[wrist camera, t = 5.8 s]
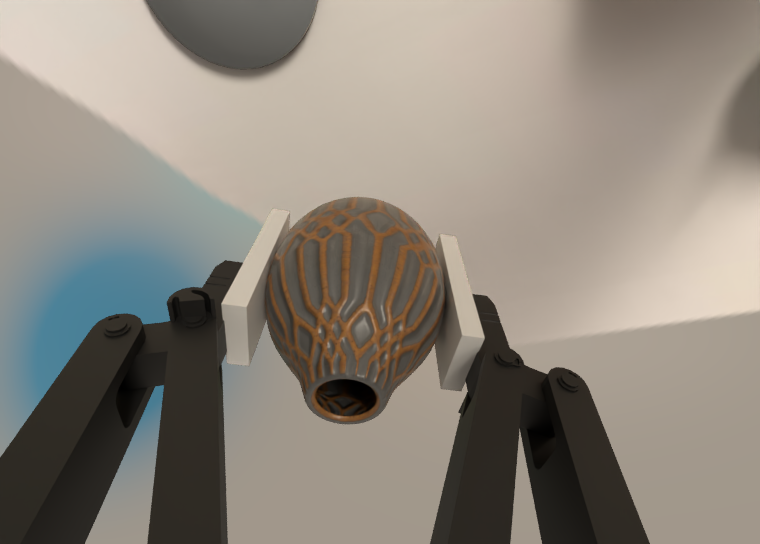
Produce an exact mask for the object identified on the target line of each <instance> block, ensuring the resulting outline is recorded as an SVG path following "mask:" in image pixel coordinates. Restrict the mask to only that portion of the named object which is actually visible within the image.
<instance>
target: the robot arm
mask: <svg viewBox="0 0 760 544" xmlns="http://www.w3.org/2000/svg"><path fill="white" fill-rule="evenodd" d="M289 219H290V211H286V210H279V209H272V211H271V212H270V214H269V216H268V218H267V220H266V222H265V224H264V225H263V227H262V229H261V231H260V233H259V235H258V237H257V239H256V240H255V242H254V244H253V246H252V248H251V250H250V251H249V253H248V255H247V257H246V259H245V261H244V263H240V262H233V261H226V260H225V261H224V262H223V263H221V264H219V265H218V266H216V267H215V269H214V270H213V272H212V273H211V275H210V277H209V278H208V279H207V281H206V283H205V284H204V286H203V287H202V288H198V287H191V288H185V289H181V290H179V291H177V292H175V293H174V294H173V295H171V296H170V297H169V299H168V301H167V306H168V311H169V316H170V321H168V322H163V323H154V324H144V325H143V324H142V322H141V319H140V318H138V317H137V316H135V315H131V314H116V315H113V316H109V317H106V318H105V319H102V320H101V321H99V322H98V323H97V324H96V325H95V326H94V327H93V328H92V329H91V330H90V332H89V333H88V335H87V336H86V338H85V339H84V340H83V342H82V343H81V345H80V346H79V347H78V349H77V350H76V352H75V353H74V354H73V356H72V357H71V359H70V360H69V362H68V363H67V364H66V366H65V367H64V369H63V370H62V371H61V373H60V374H59V375H58V377H57V378H56V380H55V381H54V383H53V384H52V385H51V387H50V388H49V390H48V391H47V392H46V394H45V395H44V397H43V398H42V399H41V401H40V402H39V404H38V405H37V407H36V408H35V409H34V411H33V412H32V414H31V415H30V416H29V418H28V419H27V421H26V422H25V423H24V425H23V426H22V428H21V429H20V431H19V432H18V434H17V435H16V437H15V438H14V439H13V441H12V442H11V443H10V445H9V446H8V447H7V449H6V450H5V452H4V453H3V455H2V456H1V457H0V544H85V541H86V539H87V537H88V535H89V533H90V530H91V528H92V526H93V524H94V522H95V519H96V517H97V515H98V513H99V510H100V508H101V506H102V504H103V501H104V499H105V497H106V495H107V493H108V490H109V488H110V486H111V484H112V481H113V479H114V477H115V475H116V473H117V470H118V468H119V466H120V463H121V461H122V459H123V457H124V455H125V452H126V450H127V448H128V446H129V444H130V441H131V439H132V437H133V435H134V432H135V430H136V428H137V425H138V423H139V421H140V419H141V417H142V414H143V412H144V410H145V408H146V406H147V403H148V401H149V399H150V397H151V394H152V392H153V390H154V388H155V386H160V385H164V392H163V401H162V411H161V420H160V430H159V439H158V448H157V458H156V467H155V477H154V486H153V496H152V505H151V515H150V524H149V534H148V544H228V538H227V508H226V476H225V445H224V413H223V386H222V385H223V382H222V365H221V363H222V361H223V359H224V356H225V355H226V358H227V364H235V365H244V366H249V365H250V363H251V360H252V357H253V354H254V352H255V349H256V346H257V344H258V341H259V338H260V336H261V333H262V330H263V327H264V325H265V322H266V320H267V318H266V309H265V291H266V282H267V277H268V272H269V269H270V266H271V263H272V260H273V258H274V256H275V254H276V251H277V249H278V248H279V246H280V244H281V242H282V241H283V239H284V238H285V236H286V235H287V233H288V232H289ZM435 250H436V252H437V255H438V258H439V260H440V264H441V267H442V271H443V276H444V283H445V308H444V314H443V319H442V323H441V327H440V330H439V333H438V336H437V339H436V341H435V349H436V357H437V363H438V370H439V378H440V386H441V389H446V390H447V389H448V390H455V391H461V390H462V388H463V386H464V384H465V382H466V384H467V389H468V392H467V395H466V397H465V399H464V401H463V403H462V406H461V408H460V410H459V413H461V416H460V420H459V424H458V428H457V432H456V436H455V441H454V445H453V449H452V453H451V458H450V462H449V466H448V471H447V474H446V479H445V483H444V487H443V491H442V496H441V500H440V504H439V509H438V513H437V517H436V521H435V525H434V530H433V534H432V539H431V542H430V544H510V539H511V527H512V515H513V502H514V489H515V477H516V464H517V451H518V440H519V428H520V432H521V437H522V442H523V447H524V453H525V457H526V463H527V468H528V473H529V478H530V483H531V488H532V494H533V498H534V504H535V509H536V514H537V519H538V524H539V530H540V535H541V540H542V544H650V543H649V540H648V538H647V535H646V533H645V530H644V528H643V525H642V523H641V520H640V518H639V515H638V512H637V510H636V508H635V505H634V502H633V500H632V497H631V495H630V492H629V490H628V487H627V485H626V482H625V480H624V477H623V475H622V472H621V469H620V467H619V464H618V462H617V460H616V457H615V454H614V452H613V449H612V447H611V444H610V442H609V439H608V437H607V434H606V432H605V429H604V427H603V424H602V421H601V419H600V416H599V414H598V411H597V409H596V406H595V404H594V401H593V399H592V396H591V394H590V391H589V388H588V386H587V385H586V383H585V381H584V380H583V379H582V378H580V376H578V375H577V374H576V373H574V372H572V371H571V370H568V369H565V368H559V367H558V368H557V367H556V368H553V369H551V370H550V371H549V373H548V374H545V373H542V372H539V371H537V370H535V369H532V368H530V367H528V366H525V365H524V362H523V360H522V358H521V357H520V355H519V354H517V353H516V352H515V351H513V350H512V349H510V347H509V345H508V342H507V339H506V336H505V333H504V330H503V327H502V325H501V323H500V319H499V316H498V313H497V310H496V307H495V305H494V304H493V302H492V301H491V300H490V299H489V298H488V297H487V296H482V295H475V294H472V292H471V288H470V285H469V281H468V278H467V274H466V271H465V267H464V264H463V260H462V257H461V253H460V250H459V246H458V243H457V239H456V236H450V235H444V234H439V238H438V241H437V245H436V248H435Z"/></svg>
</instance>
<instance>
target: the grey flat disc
mask: <svg viewBox="0 0 760 544" xmlns="http://www.w3.org/2000/svg"><path fill="white" fill-rule="evenodd" d="M147 2H148V4H149V6H150V7H151V9H152V10H153V12H154V13H155V15H156V16H157V18H158V19H159V20H160V21H161V23H162V24H163V25H164V27H165V28H166V29H167V30H168V31H169V32H170V33H171V34H172V35H173V36H174V37H175V38H176V39H177V40H178V41H179V42H180V43H181V44H183V45H184V46H185V47H186V48H187V49H189V50H190V51H192V52H193V53H195V54H196V55H198V56H200V57H202V58H203V59H205V60H207V61H209V62H212V63H215V64H217V65H220V66H224V67H228V68H234V69H254V68H259V67H263V66H266V65H269V64H272V63H274V62H275V61H277V60H279V59H281V58H283V57H284V56H285V55H287V54H288V53H289V52H291V51H292V50H293V49H294V48H295V47H296V46H297V45H298V43H299V42H300V41H301V40H302V38H303V37H304V35H305V34H306V32H307V30H308V28H309V26H310V24H311V22H312V20H313V17H314V14H315V11H316V7H317V3H318V0H147Z"/></svg>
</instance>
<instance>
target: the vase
mask: <svg viewBox="0 0 760 544" xmlns="http://www.w3.org/2000/svg"><path fill="white" fill-rule="evenodd" d="M444 308H445V283H444V276H443V271H442V267H441V264H440V260H439V258H438V255H437V252H436V250H435V247H434V245H433V244H432V242H431V240H430V239H429V237H428V236H427V234H426V233H425V231H424V230H423V229H422V228H421V226H420V225H419V224H418V223H417V222H416V221H415V220H414V219H413V218H411V217H410V216H409V215H408V214H407V213H405V212H404V211H402V210H401V209H399V208H397V207H395V206H393V205H391V204H389V203H386V202H384V201H381V200H377V199H373V198H366V197H350V198H343V199H338V200H334V201H331V202H328V203H325V204H323V205H321V206H319V207H317V208H316V209H314V210H312V211H311V212H309V213H308V214H306V215H305V216H304V217H303V218H301V219H300V220H299V221H298V222H297V223H296V224H295V225H294V226H293V227H292V228H291V229H290V231H289V232H288V233H287V235H286V236H285V238H284V239H283V241H282V242H281V244H280V246H279V248H278V249H277V251H276V254H275V256H274V258H273V260H272V263H271V266H270V269H269V272H268V277H267V282H266V291H265V309H266V318H267V324H268V328H269V332H270V335H271V338H272V340H273V343H274V345H275V347H276V349H277V351H278V352H279V354H280V356H281V357H282V358H283V360H284V361H285V363H286V364H287V366H288V367H289V368H290V370H291V371H292V372H293V374H294V375H295V376H296V377H297V379H298V380H299V382H300V385H301V388H302V391H303V395H304V399H305V402H306V403H307V406H308V407H309V409H310V410H311V411H312V412H313V413H314V414H316V415H317V416H319V417H321V418H322V419H325V420H327V421H330V422H334V423H339V424H358V423H363V422H366V421H369V420H371V419H373V418H375V417H377V416H378V415H379V414H380V413H381V412H382V411H383V410H384V408H385V407H386V405H387V403H388V401H389V399H390V397H391V395H392V393H393V391H394V390H395V389H396V388H397V387H398V386H399V385H400V384H401V383H402V382H403V381H405V380H406V379H407V378H408V377H409V376H410V375H411V374H412V373H413V372H414V371H415V370H416V369H417V368H418V367H419V366H420V365H421V364H422V362H423V361H424V360H425V358H426V357H427V356H428V354H429V353H430V351H431V349H432V347H433V345H434V343H435V341H436V339H437V336H438V333H439V330H440V327H441V323H442V319H443V314H444Z"/></svg>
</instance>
